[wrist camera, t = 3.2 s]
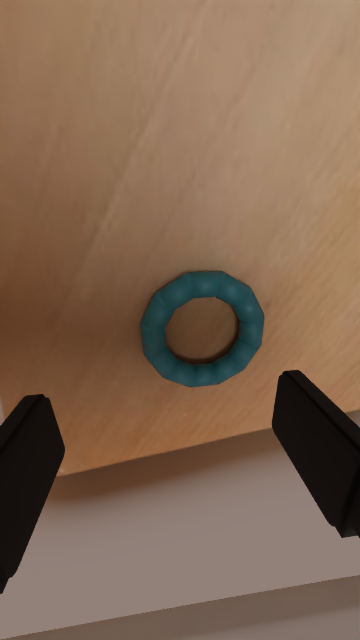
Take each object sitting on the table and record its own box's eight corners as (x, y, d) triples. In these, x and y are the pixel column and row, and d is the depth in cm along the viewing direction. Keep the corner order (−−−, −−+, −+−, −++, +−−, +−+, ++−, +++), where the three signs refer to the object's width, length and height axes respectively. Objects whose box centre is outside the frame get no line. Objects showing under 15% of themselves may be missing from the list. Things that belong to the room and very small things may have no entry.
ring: (147, 382, 17) (147, 397, 16) (135, 273, 14) (133, 278, 12) (251, 371, 18) (260, 384, 17) (262, 266, 15) (274, 270, 13)
